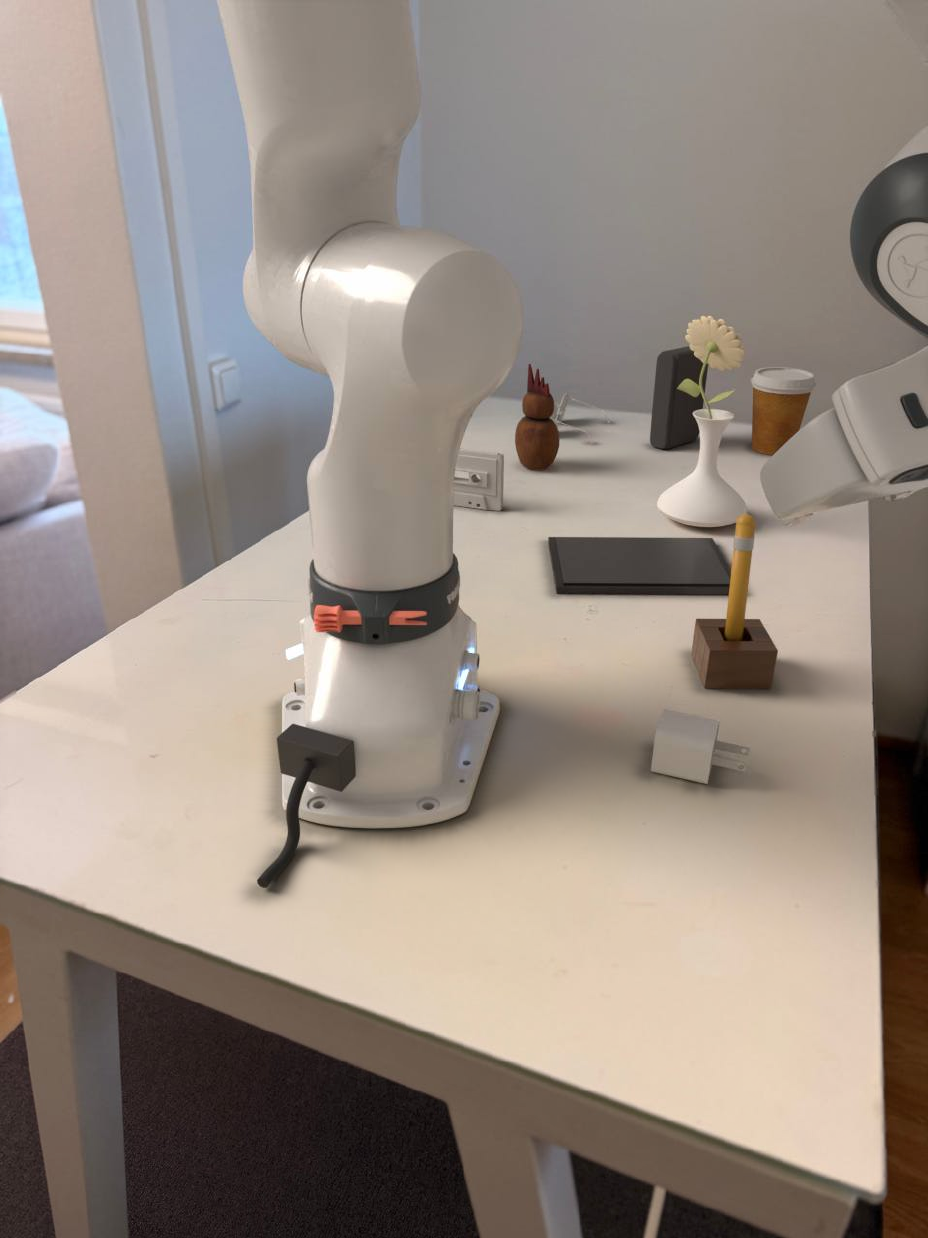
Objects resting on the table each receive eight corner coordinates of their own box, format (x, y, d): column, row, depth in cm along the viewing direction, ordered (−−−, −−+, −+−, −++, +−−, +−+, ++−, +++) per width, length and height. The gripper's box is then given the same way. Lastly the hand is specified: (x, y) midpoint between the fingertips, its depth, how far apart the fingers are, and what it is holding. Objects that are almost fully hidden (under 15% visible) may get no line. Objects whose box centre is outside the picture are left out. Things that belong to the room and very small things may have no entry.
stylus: (741, 675, 83) (759, 517, 78) (722, 675, 83) (739, 517, 78) (736, 667, 85) (753, 512, 80) (718, 667, 85) (734, 512, 80)
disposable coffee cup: (810, 446, 145) (823, 370, 139) (794, 462, 138) (808, 383, 132) (751, 437, 150) (762, 363, 144) (733, 452, 143) (744, 375, 137)
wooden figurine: (508, 462, 138) (510, 363, 131) (541, 457, 140) (545, 359, 133) (529, 475, 133) (533, 372, 126) (563, 470, 135) (569, 368, 128)
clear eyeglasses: (563, 417, 160) (569, 390, 158) (608, 429, 158) (615, 402, 156) (541, 439, 149) (547, 410, 146) (590, 452, 147) (597, 423, 144)
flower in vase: (763, 527, 115) (797, 324, 103) (688, 540, 111) (714, 331, 100) (703, 494, 126) (728, 306, 114) (632, 505, 122) (650, 312, 110)
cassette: (504, 507, 121) (505, 452, 118) (499, 512, 120) (500, 456, 116) (423, 496, 125) (422, 442, 122) (417, 500, 124) (416, 446, 120)
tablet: (740, 594, 98) (741, 586, 98) (556, 593, 99) (556, 585, 98) (711, 543, 111) (712, 536, 110) (548, 542, 111) (548, 535, 110)
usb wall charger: (659, 746, 74) (664, 705, 72) (747, 765, 72) (754, 723, 70) (650, 775, 71) (655, 733, 69) (741, 796, 68) (749, 753, 66)
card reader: (681, 435, 151) (692, 342, 144) (701, 440, 148) (713, 346, 141) (645, 445, 146) (654, 350, 138) (665, 451, 143) (675, 355, 136)
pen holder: (771, 689, 82) (778, 650, 80) (704, 688, 82) (709, 650, 80) (753, 655, 87) (759, 618, 85) (690, 654, 87) (695, 618, 85)
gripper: (1078, 339, 59) (929, 443, 71) (822, 384, 53) (709, 489, 65) (1123, 424, 57) (963, 515, 70) (865, 481, 51) (741, 568, 64)
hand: (838, 503), depth 68 cm, fingers open, 8 cm apart
